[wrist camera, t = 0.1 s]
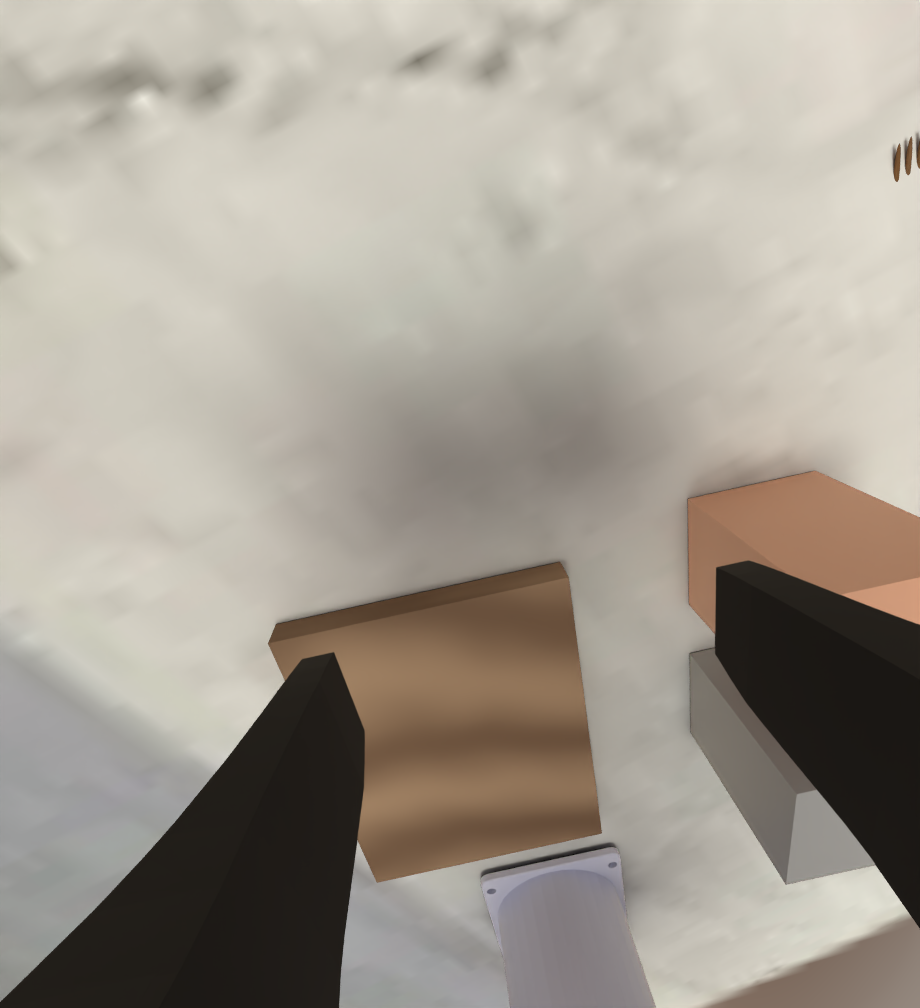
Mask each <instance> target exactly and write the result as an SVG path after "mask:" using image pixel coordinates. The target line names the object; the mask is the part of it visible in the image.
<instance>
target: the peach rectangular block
mask: <svg viewBox="0 0 920 1008" xmlns="http://www.w3.org/2000/svg"><path fill="white" fill-rule="evenodd" d="M688 554H689V605H690V606H691V607H692V608H693V610H694V611H695V612H696V613H697V614H698V615H699V616H700V618H701V619H702V620H703V621H704V622H705V623H706V624H707V626H708V627H709V628H710V629H711V630H712V631H713V632H714V634H715V610H716V567H720V566H725V565H729V564H734V563H738V562H743V561H747V560H749V561H753V562H756V563H759V564H762V565H765V566H767V567H770V568H773V569H776V570H778V571H781V572H784V573H786V574H789V575H791V576H794V577H797V578H799V579H802V580H804V581H807V582H809V583H812V584H814V585H817V586H819V587H822V588H825V589H827V590H830V591H832V592H835V593H837V594H840V595H842V596H845V597H847V598H850V599H853V600H855V601H858V602H860V603H863V604H866V605H868V606H871V607H873V608H876V609H879V610H881V611H884V612H887V613H889V614H892V615H895V616H897V617H900V618H903V619H905V620H908V621H911V622H914V623H916V624H919V625H920V517H918V516H915V515H913V514H911V513H909V512H906V511H904V510H902V509H900V508H897V507H895V506H893V505H891V504H888V503H886V502H884V501H882V500H879V499H877V498H875V497H873V496H871V495H868V494H866V493H864V492H862V491H859V490H857V489H855V488H853V487H850V486H848V485H846V484H844V483H841V482H839V481H837V480H835V479H832V478H830V477H828V476H826V475H824V474H821V473H819V472H817V471H812V472H808V473H803V474H799V475H794V476H790V477H785V478H780V479H776V480H771V481H767V482H762V483H758V484H753V485H749V486H744V487H740V488H735V489H730V490H726V491H721V492H717V493H712V494H708V495H703V496H699V497H694V498H690V499H688Z"/></svg>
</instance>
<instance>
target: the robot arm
mask: <svg viewBox="0 0 920 1008" xmlns="http://www.w3.org/2000/svg"><path fill="white" fill-rule="evenodd" d="M715 655H716V656H717V658H718V659H719V661H720V663H721V664H722V666H723V668H724V669H725V671H726V672H727V674H728V676H729V677H730V679H731V681H732V682H733V684H734V685H735V687H736V688H737V690H738V691H739V693H740V694H741V696H742V697H743V699H744V700H745V702H746V703H747V705H748V706H749V707H750V708H751V710H752V711H753V712H754V714H755V715H756V716H757V717H758V719H759V720H760V721H761V722H762V724H763V725H764V726H765V727H766V728H767V730H768V731H769V732H770V733H771V735H772V736H773V737H774V738H775V740H776V741H777V742H778V743H779V744H780V746H781V747H782V748H783V749H784V751H785V752H786V753H787V754H788V755H789V757H790V758H791V759H792V760H793V762H794V763H795V764H796V765H797V766H798V768H799V769H800V770H801V771H802V772H803V774H804V775H805V776H806V777H807V779H808V780H809V781H810V782H811V783H812V785H813V786H814V787H815V788H816V789H817V791H818V792H819V793H820V794H821V796H822V797H823V798H824V799H825V800H826V802H827V803H828V804H829V805H830V807H831V808H832V809H833V810H834V811H835V813H836V814H837V815H838V816H839V817H840V819H841V820H842V821H843V822H844V824H845V825H846V826H847V827H848V829H849V830H850V831H851V833H852V834H853V835H854V837H855V838H856V839H857V840H858V842H859V843H860V844H861V846H862V847H863V848H864V850H865V851H866V852H867V853H868V855H869V856H870V858H871V859H872V860H873V862H874V863H875V865H876V866H877V868H878V869H879V870H880V872H881V873H882V875H883V876H884V878H885V879H886V881H887V882H888V883H889V885H890V886H891V888H892V889H893V891H894V892H895V893H896V895H897V896H898V898H899V899H900V901H901V902H902V904H903V905H904V906H905V908H906V909H907V911H908V912H909V914H910V915H911V917H912V918H913V919H914V921H915V922H916V924H917V925H918V926H919V928H920V625H919V624H916V623H914V622H911V621H908V620H905V619H903V618H900V617H897V616H895V615H892V614H889V613H887V612H884V611H881V610H879V609H876V608H873V607H871V606H868V605H866V604H863V603H860V602H858V601H855V600H853V599H850V598H847V597H845V596H842V595H840V594H837V593H835V592H832V591H830V590H827V589H825V588H822V587H819V586H817V585H814V584H812V583H809V582H807V581H804V580H802V579H799V578H797V577H794V576H791V575H789V574H786V573H784V572H781V571H778V570H776V569H773V568H770V567H767V566H765V565H762V564H759V563H756V562H753V561H749V560H747V561H743V562H738V563H734V564H729V565H725V566H720V567H716V610H715ZM364 770H365V730H364V727H363V725H362V722H361V720H360V717H359V715H358V712H357V709H356V707H355V704H354V702H353V699H352V697H351V694H350V692H349V689H348V686H347V684H346V681H345V679H344V676H343V674H342V671H341V669H340V666H339V663H338V661H337V658H336V656H335V653H334V652H332V653H327V654H323V655H318V656H314V657H309V658H305V659H302V660H301V661H300V662H299V663H298V665H297V666H296V667H295V669H294V670H293V671H292V672H291V674H290V675H289V676H288V678H287V679H286V681H285V682H284V683H283V685H282V686H281V687H280V689H279V690H278V691H277V693H276V694H275V695H274V697H273V698H272V700H271V701H270V702H269V704H268V705H267V706H266V708H265V709H264V710H263V712H262V713H261V715H260V716H259V717H258V718H257V720H256V721H255V722H254V724H253V725H252V726H251V728H250V729H249V730H248V732H247V733H246V734H245V736H244V737H243V738H242V740H241V741H240V742H239V744H238V745H237V746H236V748H235V749H234V750H233V751H232V753H231V754H230V755H229V757H228V758H227V759H226V761H225V762H224V763H223V764H222V765H221V767H220V768H219V769H218V770H217V772H216V773H215V774H214V775H213V776H212V778H211V779H210V780H209V781H208V783H207V784H206V785H205V786H204V787H203V789H202V790H201V791H200V792H199V793H198V795H197V796H196V797H195V798H194V800H193V801H192V802H191V803H190V804H189V806H188V807H187V808H186V809H185V811H184V812H183V813H182V814H181V815H180V817H179V818H178V819H177V820H176V821H175V823H174V824H173V825H172V826H171V827H170V828H169V830H168V831H167V832H166V833H165V834H164V835H163V836H162V838H161V839H160V840H159V841H158V842H157V843H156V844H155V845H154V846H153V848H152V849H151V850H150V851H149V852H148V853H147V854H146V855H145V857H144V858H143V859H142V860H141V861H140V862H139V863H138V864H137V865H136V866H135V867H134V868H133V869H132V870H131V872H130V873H129V874H128V875H127V876H126V877H125V878H124V879H123V880H122V881H121V882H120V883H119V884H118V885H117V887H116V888H115V889H114V890H113V891H112V892H111V893H110V894H109V895H108V896H107V897H106V898H105V899H104V900H103V901H102V902H101V903H100V904H99V905H98V907H97V908H96V909H95V910H94V911H93V912H92V913H91V914H90V915H89V916H88V917H87V918H86V919H85V920H84V921H83V922H82V923H81V924H80V925H79V926H77V927H76V928H75V929H74V930H73V931H72V932H71V933H70V934H69V935H68V936H67V937H66V938H65V939H64V940H63V941H62V942H61V943H60V944H59V945H58V946H57V947H56V948H55V949H54V950H53V951H52V952H51V953H50V954H49V955H48V956H47V957H46V958H45V959H44V960H43V961H42V962H41V963H40V964H39V965H38V966H37V967H36V968H35V969H34V970H33V971H32V972H31V973H30V974H29V975H28V976H27V977H26V978H24V979H23V980H22V981H21V982H20V983H19V984H18V985H17V986H16V987H15V988H14V989H13V990H12V991H11V992H10V993H9V994H8V995H7V996H6V997H5V998H4V999H3V1000H2V1001H1V1002H0V1008H339V996H340V978H341V965H342V955H343V945H344V935H345V928H346V920H347V913H348V905H349V898H350V891H351V883H352V876H353V868H354V861H355V854H356V846H357V839H358V831H359V823H360V816H361V808H362V800H363V792H364ZM481 888H482V892H483V895H484V898H485V901H486V904H487V908H488V911H489V914H490V917H491V920H492V924H493V927H494V930H495V933H496V937H497V940H498V943H499V946H500V949H501V953H502V956H503V959H504V966H505V974H506V981H507V988H508V996H509V1003H510V1008H656V1006H655V1003H654V1000H653V997H652V994H651V991H650V988H649V985H648V982H647V979H646V976H645V973H644V970H643V967H642V964H641V961H640V958H639V955H638V952H637V949H636V947H635V944H634V941H633V938H632V935H631V932H630V929H629V926H628V923H627V913H626V904H625V895H624V886H623V877H622V868H621V858H620V855H619V852H618V850H617V849H616V848H614V847H608V848H604V849H599V850H594V851H590V852H585V853H581V854H576V855H572V856H567V857H562V858H558V859H553V860H549V861H544V862H540V863H535V864H530V865H526V866H521V867H517V868H512V869H508V870H503V871H498V872H494V873H489V874H486V875H484V876H482V878H481Z"/></svg>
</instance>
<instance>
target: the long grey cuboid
mask: <svg viewBox="0 0 920 1008" xmlns="http://www.w3.org/2000/svg"><path fill="white" fill-rule="evenodd" d="M690 721H691V734H692V736H693V737H694V739H695V740H696V742H697V744H698V745H699V747H700V748H701V750H702V752H703V753H704V755H705V756H706V758H707V759H708V761H709V763H710V764H711V766H712V767H713V769H714V771H715V772H716V774H717V775H718V777H719V779H720V780H721V782H722V783H723V785H724V787H725V788H726V790H727V791H728V793H729V795H730V796H731V798H732V799H733V801H734V803H735V804H736V806H737V807H738V809H739V811H740V812H741V814H742V815H743V817H744V818H745V820H746V822H747V823H748V825H749V826H750V828H751V830H752V831H753V833H754V834H755V836H756V838H757V839H758V841H759V842H760V844H761V846H762V847H763V849H764V850H765V852H766V854H767V855H768V857H769V858H770V860H771V862H772V863H773V865H774V866H775V868H776V870H777V871H778V873H779V874H780V876H781V878H782V879H783V881H784V882H785V884H786V885H787V884H791V883H796V882H800V881H805V880H810V879H814V878H819V877H823V876H828V875H832V874H837V873H842V872H846V871H851V870H855V869H860V868H864V867H869V866H874V865H875V863H874V862H873V860H872V859H871V858H870V856H869V855H868V853H867V852H866V851H865V850H864V848H863V847H862V846H861V844H860V843H859V842H858V840H857V839H856V838H855V837H854V835H853V834H852V833H851V831H850V830H849V829H848V827H847V826H846V825H845V824H844V822H843V821H842V820H841V819H840V817H839V816H838V815H837V814H836V813H835V811H834V810H833V809H832V808H831V807H830V805H829V804H828V803H827V802H826V800H825V799H824V798H823V797H822V796H821V794H820V793H819V792H818V791H817V789H816V788H815V787H814V786H813V785H812V783H811V782H810V781H809V780H808V779H807V777H806V776H805V775H804V774H803V772H802V771H801V770H800V769H799V768H798V766H797V765H796V764H795V763H794V762H793V760H792V759H791V758H790V757H789V755H788V754H787V753H786V752H785V751H784V749H783V748H782V747H781V746H780V744H779V743H778V742H777V741H776V740H775V738H774V737H773V736H772V735H771V733H770V732H769V731H768V730H767V728H766V727H765V726H764V725H763V724H762V722H761V721H760V720H759V719H758V717H757V716H756V715H755V714H754V712H753V711H752V710H751V708H750V707H749V706H748V705H747V703H746V702H745V700H744V699H743V697H742V696H741V694H740V693H739V691H738V690H737V688H736V687H735V685H734V684H733V682H732V681H731V679H730V677H729V676H728V674H727V672H726V671H725V669H724V668H723V666H722V664H721V663H720V661H719V659H718V658H717V656H716V655H715V648H713V649H708V650H703V651H699V652H694V653H690Z"/></svg>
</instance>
